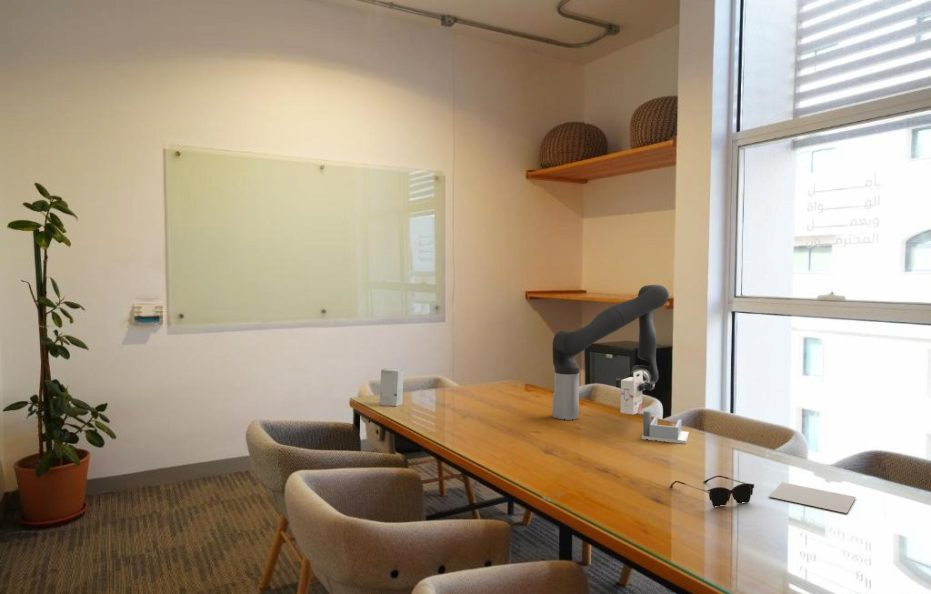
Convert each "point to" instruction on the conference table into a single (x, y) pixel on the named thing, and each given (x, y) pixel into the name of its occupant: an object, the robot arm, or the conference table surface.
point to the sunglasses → (726, 492)
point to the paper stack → (813, 497)
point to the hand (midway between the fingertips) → (630, 387)
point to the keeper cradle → (662, 430)
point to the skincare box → (391, 387)
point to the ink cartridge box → (631, 394)
